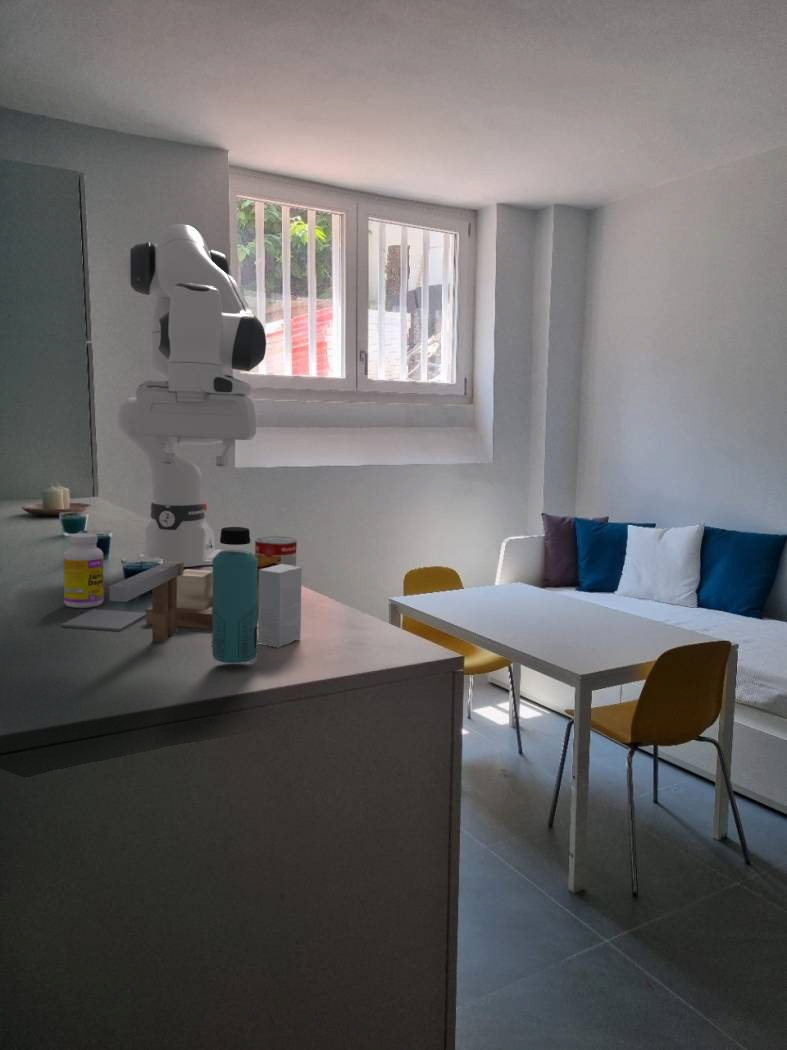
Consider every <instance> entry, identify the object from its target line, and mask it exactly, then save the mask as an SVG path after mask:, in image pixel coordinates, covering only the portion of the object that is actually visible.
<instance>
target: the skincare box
mask: <svg viewBox="0 0 787 1050" xmlns="http://www.w3.org/2000/svg"><path fill="white" fill-rule="evenodd" d="M258 605H259V609H258V610H257V617H258V618H257V620H258V621H257V627H258V628H257V639H258V643H257V644H259V643H262V644H266V645H265V646H267V645H271V646H275V647H274V648H276V647H280V648H282V647H284V646H283V645H285V646H287V645H289V644H291V643H294V642H296V641H298V640H301V629H302V628H301V626H302V624H301V623H302V567H301V566H297V565H296V566H291V565H285V564H279V565H276V566H272V567H268V568H264V569H260V570H259V603H258ZM258 612H259V613H258ZM295 640H296V641H295ZM293 641H294V642H293ZM288 643H289V644H288ZM262 644H261V645H262ZM286 644H287V645H286ZM271 646H270V647H271ZM281 646H282V647H281Z"/></svg>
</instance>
